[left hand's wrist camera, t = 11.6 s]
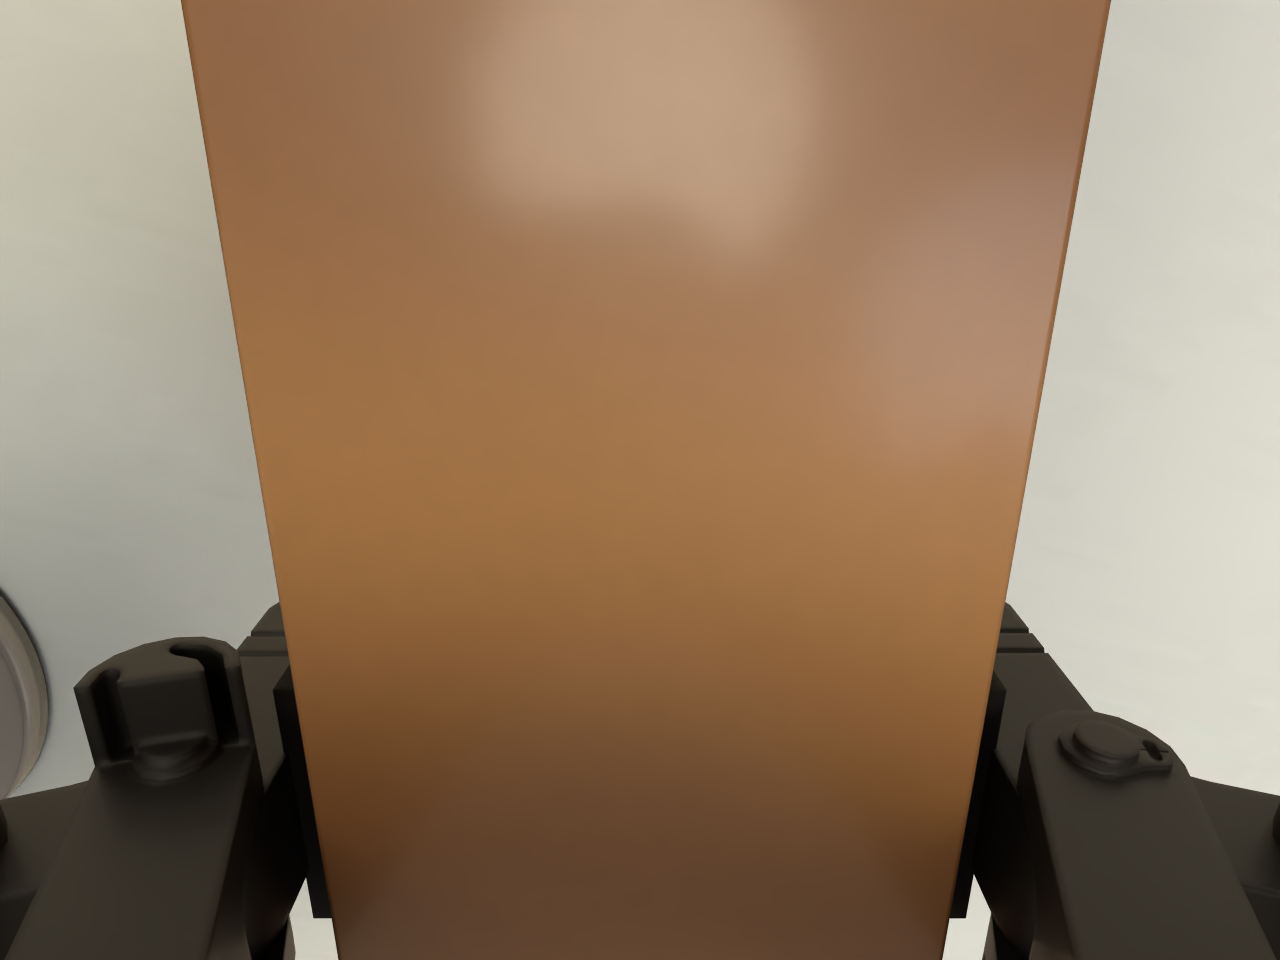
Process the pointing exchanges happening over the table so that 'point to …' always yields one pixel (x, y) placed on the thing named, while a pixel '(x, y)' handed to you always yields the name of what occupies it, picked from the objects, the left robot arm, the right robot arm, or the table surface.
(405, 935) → the bar
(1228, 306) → the table surface
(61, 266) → the table surface
